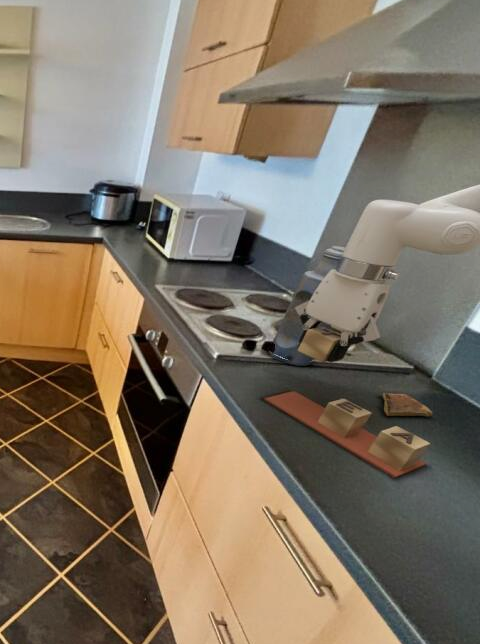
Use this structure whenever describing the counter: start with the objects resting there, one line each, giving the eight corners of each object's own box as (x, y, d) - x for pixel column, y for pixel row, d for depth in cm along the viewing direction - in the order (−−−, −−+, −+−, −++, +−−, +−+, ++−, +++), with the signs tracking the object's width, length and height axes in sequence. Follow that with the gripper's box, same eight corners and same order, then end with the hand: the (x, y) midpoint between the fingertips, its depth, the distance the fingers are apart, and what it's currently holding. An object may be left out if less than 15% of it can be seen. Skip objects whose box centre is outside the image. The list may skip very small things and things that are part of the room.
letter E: (359, 433, 82) (372, 412, 80) (344, 438, 81) (357, 416, 78) (332, 417, 87) (344, 397, 84) (317, 422, 85) (328, 401, 82)
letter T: (337, 359, 84) (350, 336, 82) (322, 362, 83) (334, 339, 80) (312, 347, 89) (323, 326, 86) (297, 350, 87) (308, 328, 84)
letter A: (415, 464, 75) (431, 442, 73) (399, 470, 73) (416, 448, 71) (382, 446, 79) (397, 424, 77) (367, 451, 77) (381, 430, 75)
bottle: (259, 349, 114) (307, 242, 101) (288, 348, 116) (338, 242, 103) (289, 367, 106) (346, 253, 92) (320, 365, 108) (379, 253, 94)
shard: (385, 417, 89) (389, 410, 88) (354, 396, 96) (358, 389, 95) (431, 418, 90) (436, 411, 89) (397, 397, 96) (402, 391, 96)
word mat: (425, 465, 76) (426, 463, 76) (394, 478, 72) (396, 476, 72) (293, 392, 95) (293, 390, 95) (263, 399, 92) (264, 398, 92)
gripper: (431, 284, 72) (376, 372, 80) (325, 255, 85) (288, 333, 94) (407, 287, 69) (353, 378, 77) (302, 257, 83) (266, 337, 91)
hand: (318, 353), depth 85 cm, fingers closed on letter T, 5 cm apart
